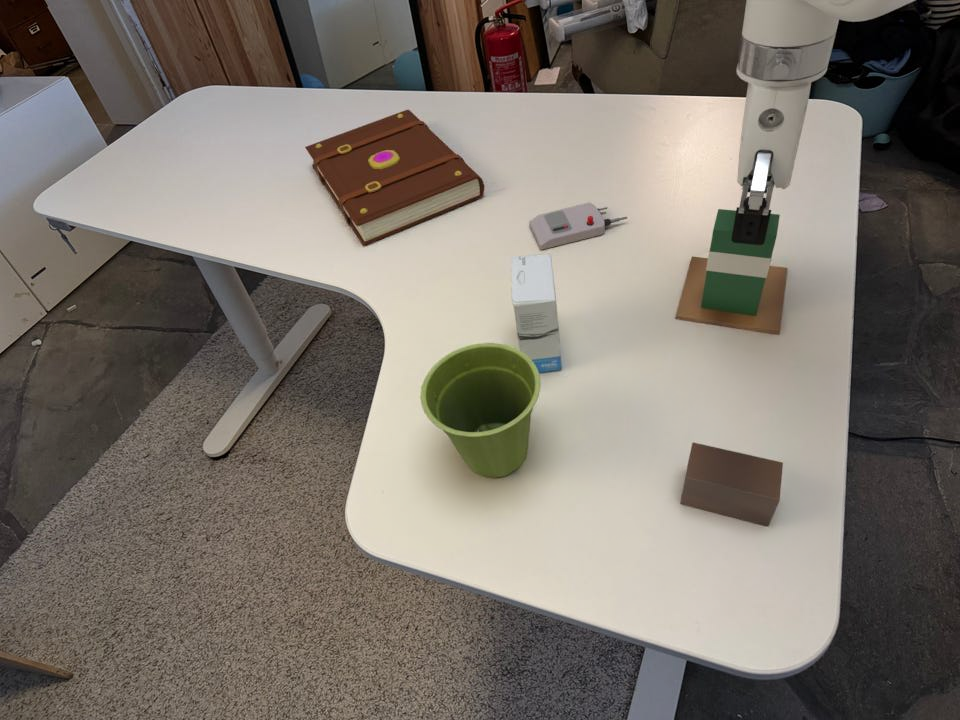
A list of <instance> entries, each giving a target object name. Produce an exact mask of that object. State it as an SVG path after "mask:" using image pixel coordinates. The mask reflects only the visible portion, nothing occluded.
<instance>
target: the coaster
mask: <svg viewBox="0 0 960 720" xmlns="http://www.w3.org/2000/svg"><path fill="white" fill-rule="evenodd" d="M707 261H708V257H701V256H691V258H690V262H689V265H688V269H687V273H686V276H685V281H684V284H683V288H682V291H681V294H680V298H679V303H678V306H677V310H676V313H675V320H682V321H689V322H695V323H701V324H707V325H708V324H709V325H713V326H719V327H726V328H733V329H740V330H745V331H753V332H759V333H765V334H770V335H771V334H772V335H778V336H779V335H780V333H781V327H782V319H783V310H784V302H785V293H786V285H787V276H788V267H784V266H778V265H777V266H776V265H770V267H769V271H768V274H767V278H766V280H765V284H764V287H763V291H762V295H761V299H760V303H759V307H758V311H757V315H756V316H753V315H747V314H740V313H733V312H726V311H720V310H713V309H706V308H701V302H702V296H703V290H704V284H705V277H706V268H707Z"/></svg>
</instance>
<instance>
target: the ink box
mask: <svg viewBox="0 0 960 720" xmlns="http://www.w3.org/2000/svg"><path fill="white" fill-rule="evenodd" d="M510 272H511V273H510V274H511V275H510V281H511V289H510V291H511V301H512V306H513V313H514V321H515V328H516V333H517V334H516V335H517V341H518V347H519V350H520V351H522V352H523V353H524V354H526V355H527V356H528V357H529V358H530V359H531V360H532V361H533V362H534V364H535V365H536V367H537V369H538V372H539V374H540V373H548V372H557V371H562V357H561V344H560V327H559V326H560V325H559V316H558V304H557V295H556V294H557V293H556V286H555V285H556V284H555V276H554V268H553V258H552V254H551V253H550V252H549V253H540V254H539V253H537V254H529V255H520V256H519V255H518V256H511V259H510Z"/></svg>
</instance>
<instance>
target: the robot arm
mask: <svg viewBox="0 0 960 720" xmlns="http://www.w3.org/2000/svg"><path fill="white" fill-rule="evenodd" d="M745 1H746V2H745V10H744V17H743V23H742V29H741V30H742V31H741V35H740V36H741V37H740V43H739V50H738V57H737V65H736V75H737V76H738V77H739V78H740V79H741V80H742V81H744V82H745V83H747V89H746V96H745V103H744V110H743V116H742V123H741V125H742V126H741V133H740V140H739V141H740V142H739V151H738V165H737V177H736V182H737V184H738V185H739V186H740V187H741V190H742V191H741V196H740V202H739V206H736V210H735V211H736V215H735V221H734V227H733V233H732V239H731V241H732V242H734V243H742V244H752V245H763V244H764V242H765V238H766V233H767V228H768V224H769V219H770V215H771V214H772V209H770V207H771V202H772V196H773V192H774V187H775V188H776V189H781V190H787V188H788V187H790V185H791V182H792V176H793V172H794V167H795V163H796V158H797V155H798V154H797V153H798V150H799V145H800V140H801V136H802V132H803V127H804V123H805V119H806V114H807V108H808V105H809V99H810V94H811V87H812V83H813V82H815V81H818V80H819V79H821V78H822V77H824V75H826V73H827V71H828V67H829V63H830V60H831V55H832V51H833V47H834V43H835V39H836V35H837V29H838V25H839V22H840V21H845V22H852V23H855V22H865V21H869V20H873V19H876V18H879V17H881V16H885V15H886V14H889V13H891V12H893V11H895V10H898V9H900V8H902V7H904V6H906V5H909V4H911V3H913V2H916V0H745ZM748 193H749V196H748ZM764 196H765V197H764Z"/></svg>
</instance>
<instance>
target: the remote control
mask: <svg viewBox="0 0 960 720" xmlns="http://www.w3.org/2000/svg"><path fill="white" fill-rule="evenodd" d="M607 209H608V206H605V207H600V208H598V207H597V206H596V205H595V204H594V203H592V202H585V203H581V204H578V205H577V204H576V205H573V206H569V207H565V208H562V209H558V210H554V211H549V212H546V213H541V214H538V215H537V216H535V217H533V218H532V219H531V220H529V221H528V222H529V229H530V230H531V233H532V235H533V237H534V239H535V241H536V244H537V246H538V247H539V250H540V251H543V250H546V249H550V248H554V247H558V246H563V245H565V244H569V243H573V242H577V241H581V240H582V241H583V240H585V239H589V238H593V237H598V236H601V235H604V234H605V233H606V231H605V230H606V227H608V226H611V224H614V223H618V222H620V221H623V220H627V219H628V216H623V217H616V218H612V219H611V218H605V219H604V217H603V215H604V214H607V211H604V210H607ZM601 211H602V212H601Z"/></svg>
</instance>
